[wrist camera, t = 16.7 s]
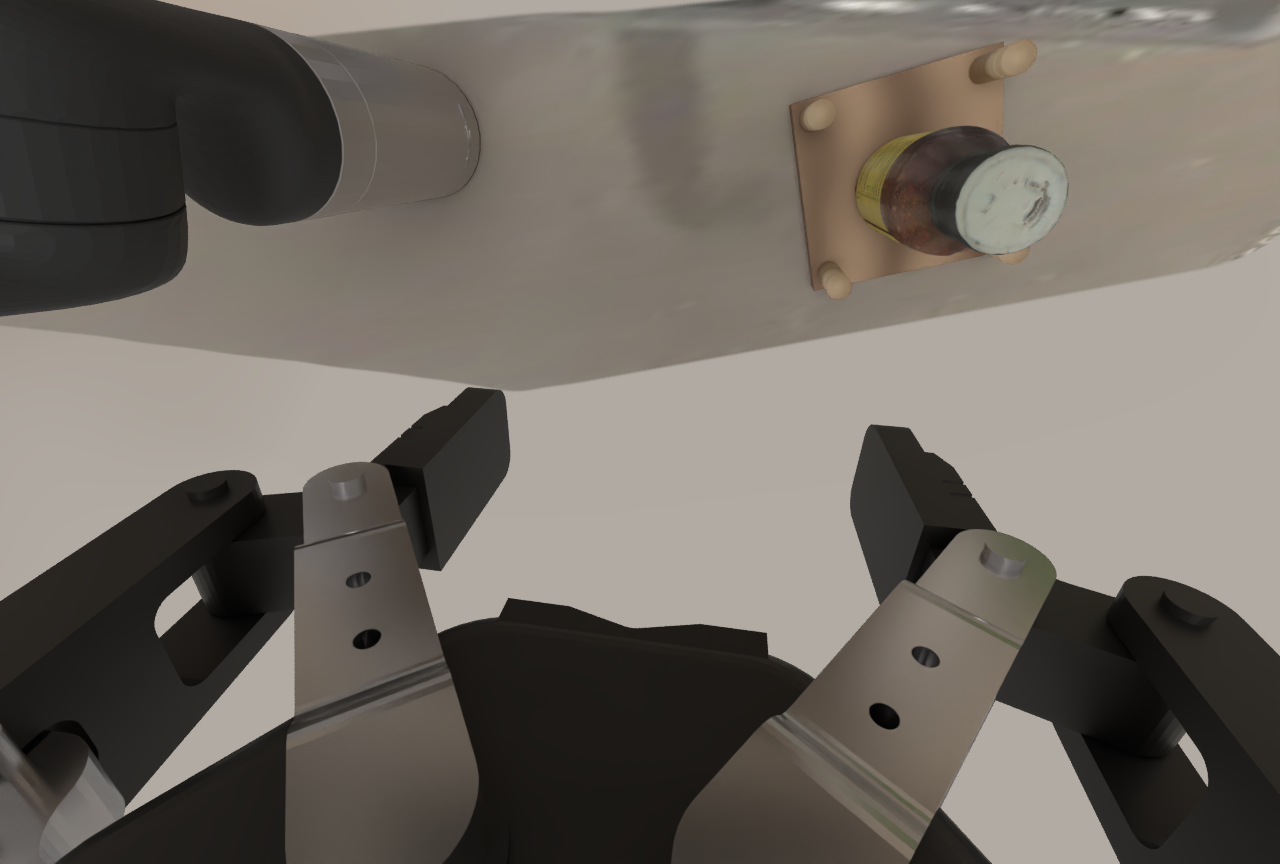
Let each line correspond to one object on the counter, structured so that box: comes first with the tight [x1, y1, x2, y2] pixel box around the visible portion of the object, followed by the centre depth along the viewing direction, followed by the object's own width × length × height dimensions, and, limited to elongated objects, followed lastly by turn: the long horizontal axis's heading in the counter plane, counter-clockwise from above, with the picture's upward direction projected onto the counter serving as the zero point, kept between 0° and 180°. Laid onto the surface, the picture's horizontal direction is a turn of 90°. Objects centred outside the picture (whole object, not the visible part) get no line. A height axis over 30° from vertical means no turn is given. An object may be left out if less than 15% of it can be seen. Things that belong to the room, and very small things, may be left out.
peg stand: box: [790, 40, 1037, 300], centre depth 37 cm, size 13×13×7 cm
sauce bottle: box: [855, 126, 1068, 256], centre depth 30 cm, size 7×6×20 cm
